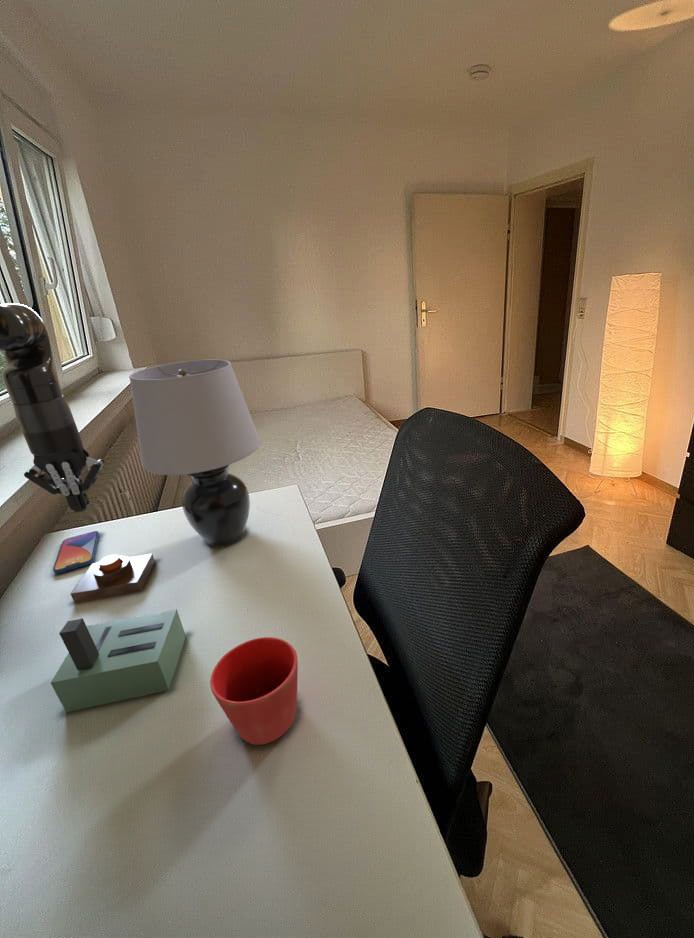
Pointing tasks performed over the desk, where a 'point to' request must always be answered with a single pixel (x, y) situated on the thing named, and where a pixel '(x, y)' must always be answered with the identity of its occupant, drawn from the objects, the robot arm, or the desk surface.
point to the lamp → (197, 440)
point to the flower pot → (258, 688)
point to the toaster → (124, 661)
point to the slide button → (79, 644)
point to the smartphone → (76, 552)
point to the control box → (114, 578)
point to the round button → (109, 563)
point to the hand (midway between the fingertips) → (81, 510)
